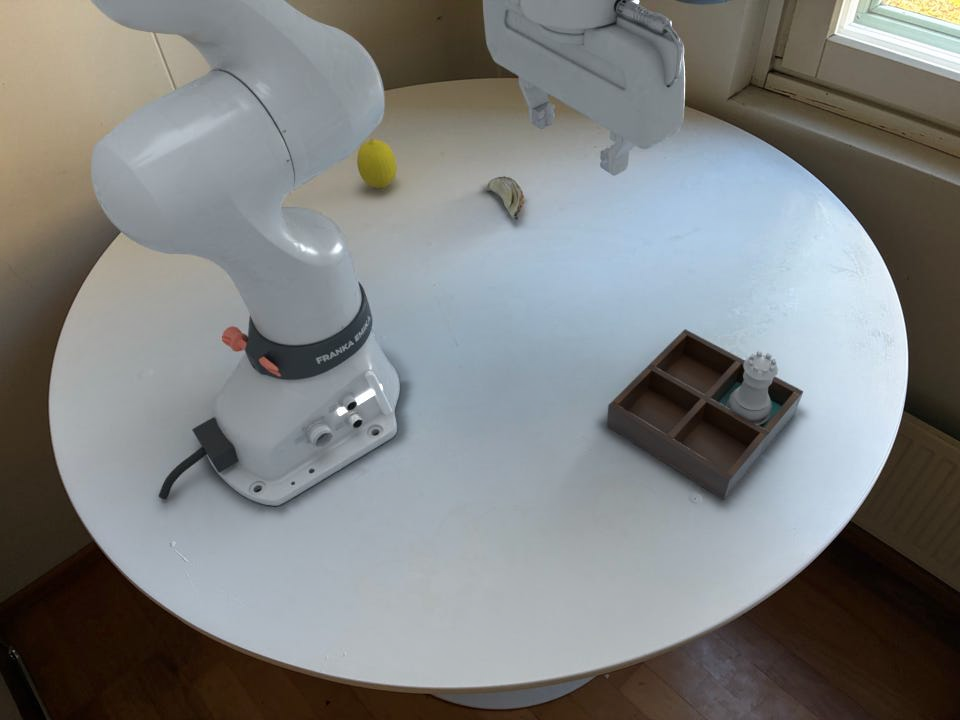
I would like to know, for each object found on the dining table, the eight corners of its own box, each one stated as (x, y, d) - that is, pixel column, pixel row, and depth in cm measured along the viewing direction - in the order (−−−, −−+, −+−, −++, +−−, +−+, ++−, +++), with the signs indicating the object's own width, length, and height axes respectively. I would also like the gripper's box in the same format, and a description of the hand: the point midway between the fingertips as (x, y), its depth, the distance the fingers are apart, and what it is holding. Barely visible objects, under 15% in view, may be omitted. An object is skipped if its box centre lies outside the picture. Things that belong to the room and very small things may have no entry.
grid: (723, 500, 75) (729, 480, 72) (606, 426, 82) (608, 405, 79) (795, 412, 81) (803, 391, 78) (681, 350, 88) (685, 328, 85)
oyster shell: (499, 223, 113) (532, 222, 104) (477, 216, 111) (509, 214, 102) (509, 183, 113) (543, 179, 104) (487, 175, 111) (520, 170, 102)
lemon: (407, 182, 114) (399, 135, 108) (385, 202, 111) (375, 155, 105) (378, 172, 116) (368, 125, 110) (355, 192, 113) (344, 145, 107)
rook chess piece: (770, 431, 79) (788, 381, 73) (725, 426, 79) (739, 376, 73) (769, 397, 81) (785, 346, 75) (725, 393, 82) (738, 342, 76)
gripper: (719, 10, 51) (692, 184, 61) (528, -69, 62) (532, 89, 73) (648, 42, 48) (633, 217, 59) (464, -46, 60) (478, 113, 70)
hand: (576, 145), depth 66 cm, fingers open, 8 cm apart
